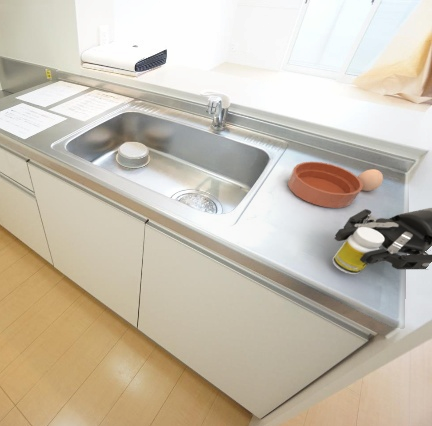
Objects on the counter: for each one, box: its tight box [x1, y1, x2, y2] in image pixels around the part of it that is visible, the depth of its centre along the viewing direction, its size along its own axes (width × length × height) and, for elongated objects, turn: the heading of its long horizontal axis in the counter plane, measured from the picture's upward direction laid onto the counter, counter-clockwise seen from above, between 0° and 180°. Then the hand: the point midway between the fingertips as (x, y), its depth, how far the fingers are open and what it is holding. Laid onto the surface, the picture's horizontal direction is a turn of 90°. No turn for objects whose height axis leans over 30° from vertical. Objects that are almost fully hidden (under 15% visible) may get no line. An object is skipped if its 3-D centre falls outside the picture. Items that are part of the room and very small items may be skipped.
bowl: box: [287, 161, 363, 209], centre depth 74 cm, size 15×15×4 cm
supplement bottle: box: [332, 227, 384, 275], centre depth 52 cm, size 5×5×8 cm
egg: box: [357, 168, 384, 192], centre depth 73 cm, size 5×5×6 cm
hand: (350, 246), depth 50 cm, fingers closed on supplement bottle, 4 cm apart
